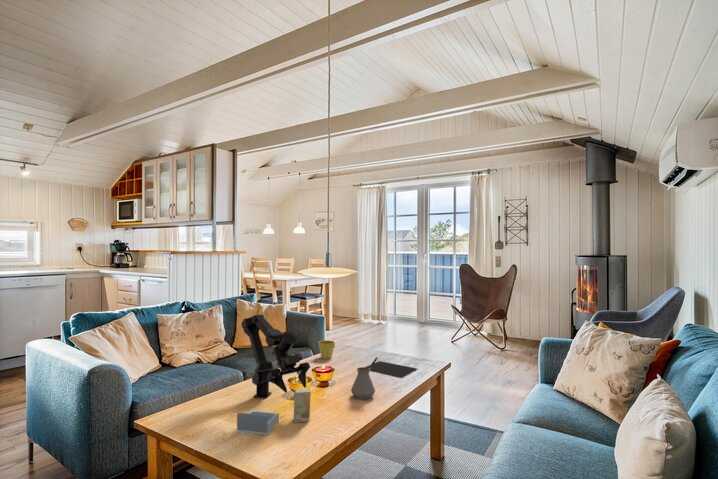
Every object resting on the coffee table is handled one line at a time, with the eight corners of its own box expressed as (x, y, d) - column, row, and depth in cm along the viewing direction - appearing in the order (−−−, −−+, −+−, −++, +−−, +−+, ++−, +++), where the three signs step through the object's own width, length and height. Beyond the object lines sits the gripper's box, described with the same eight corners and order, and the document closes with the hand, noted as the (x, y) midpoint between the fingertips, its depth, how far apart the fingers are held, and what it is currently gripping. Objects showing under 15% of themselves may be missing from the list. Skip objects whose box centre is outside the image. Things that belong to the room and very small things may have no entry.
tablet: (418, 368, 233) (401, 377, 217) (418, 370, 233) (401, 379, 217) (379, 361, 249) (361, 368, 232) (379, 362, 249) (361, 370, 232)
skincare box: (294, 423, 161) (294, 392, 161) (293, 418, 165) (293, 388, 165) (310, 421, 162) (310, 391, 162) (308, 417, 166) (309, 387, 167)
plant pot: (336, 355, 260) (336, 340, 260) (332, 360, 249) (333, 344, 249) (320, 354, 261) (320, 339, 261) (316, 359, 251) (316, 343, 251)
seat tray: (251, 418, 164) (251, 401, 164) (278, 421, 162) (279, 404, 162) (236, 432, 152) (237, 413, 152) (266, 435, 150) (266, 416, 150)
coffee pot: (368, 402, 183) (368, 369, 183) (346, 397, 188) (346, 365, 188) (387, 388, 201) (387, 358, 202) (367, 384, 207) (367, 355, 207)
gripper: (270, 350, 166) (283, 384, 157) (308, 343, 178) (322, 374, 169) (261, 365, 171) (273, 398, 163) (298, 357, 184) (311, 388, 175)
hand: (296, 389), depth 167 cm, fingers open, 9 cm apart
